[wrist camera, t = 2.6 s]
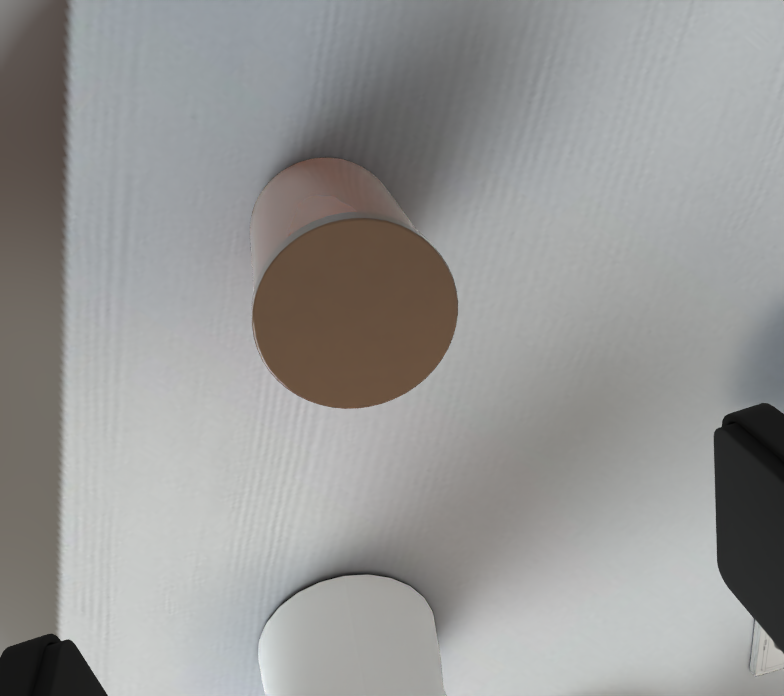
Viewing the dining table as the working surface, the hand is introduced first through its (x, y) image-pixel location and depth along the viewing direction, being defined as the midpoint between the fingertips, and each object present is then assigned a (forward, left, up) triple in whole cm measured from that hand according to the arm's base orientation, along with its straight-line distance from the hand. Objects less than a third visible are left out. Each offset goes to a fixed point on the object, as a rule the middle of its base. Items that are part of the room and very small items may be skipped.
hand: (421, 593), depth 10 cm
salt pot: (0, +1, -15) cm, 15 cm away
